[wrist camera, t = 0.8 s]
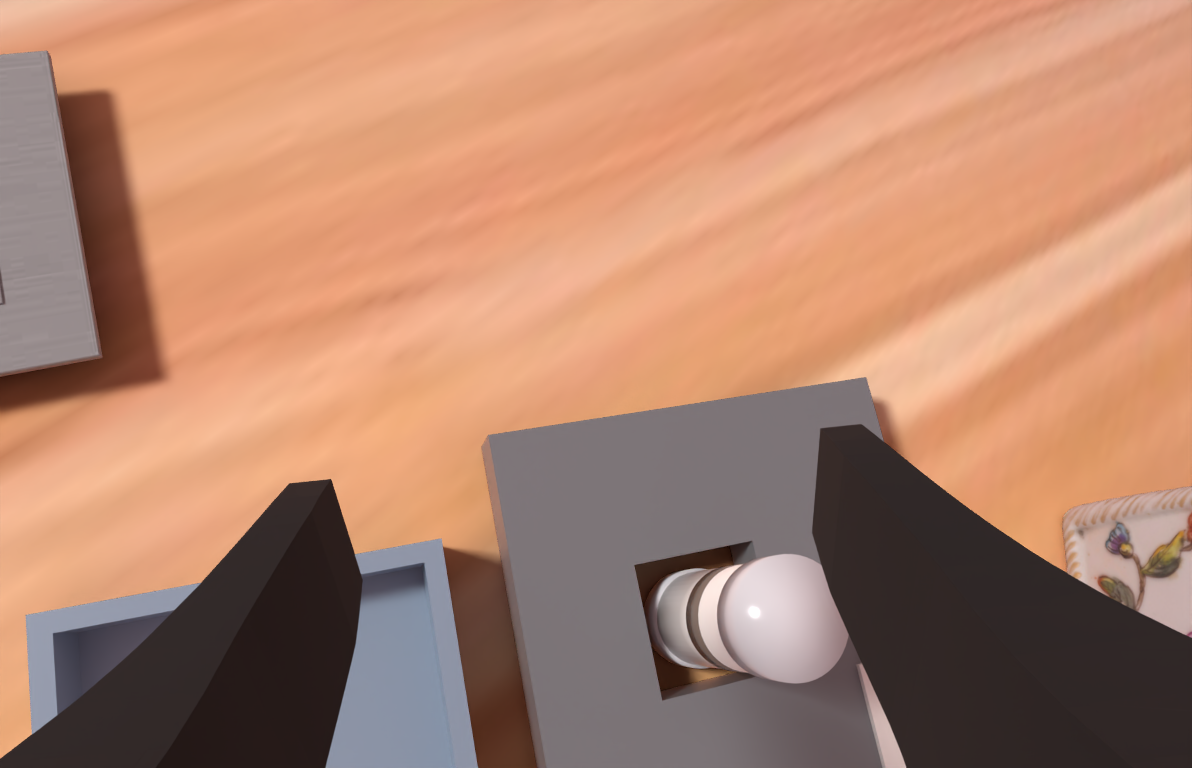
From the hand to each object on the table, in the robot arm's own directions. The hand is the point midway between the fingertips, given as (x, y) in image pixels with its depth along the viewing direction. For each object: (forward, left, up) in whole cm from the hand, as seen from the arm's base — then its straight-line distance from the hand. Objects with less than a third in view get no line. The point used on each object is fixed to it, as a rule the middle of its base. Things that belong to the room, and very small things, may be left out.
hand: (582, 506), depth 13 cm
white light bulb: (-3, -7, -16) cm, 18 cm away
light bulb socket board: (-4, -8, -16) cm, 19 cm away
